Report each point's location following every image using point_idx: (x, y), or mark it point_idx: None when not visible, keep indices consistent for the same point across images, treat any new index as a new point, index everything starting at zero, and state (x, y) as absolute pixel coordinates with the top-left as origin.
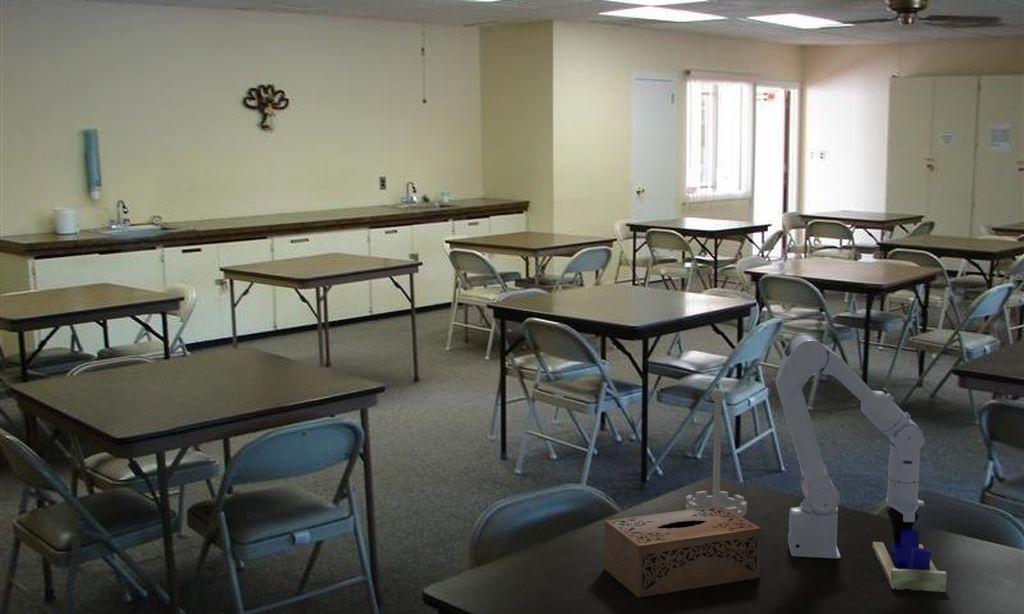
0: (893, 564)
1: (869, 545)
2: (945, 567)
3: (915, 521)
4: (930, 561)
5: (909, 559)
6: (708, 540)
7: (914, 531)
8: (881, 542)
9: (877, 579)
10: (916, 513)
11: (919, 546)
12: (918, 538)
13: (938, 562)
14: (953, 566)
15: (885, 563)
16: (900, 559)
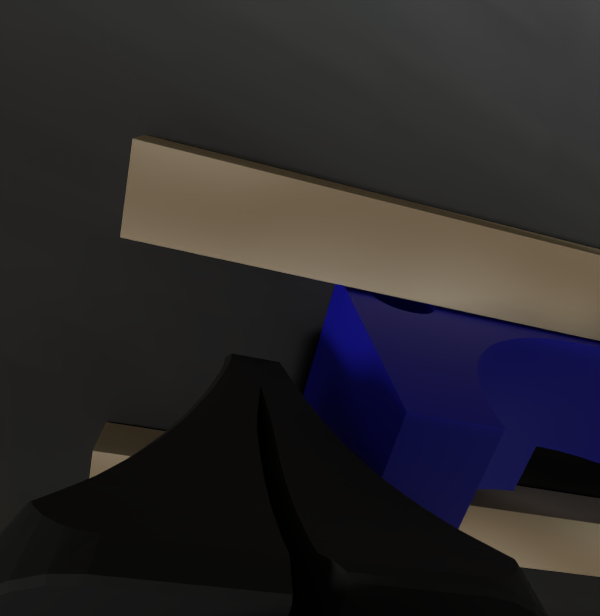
0: (528, 516)
1: (53, 484)
2: (555, 113)
3: (471, 541)
4: (552, 255)
5: (516, 417)
6: None
7: (473, 467)
8: (96, 461)
9: (591, 586)
10: (370, 591)
11: (194, 190)
12: (478, 384)
13: (444, 118)
14: (556, 23)
15: (498, 550)
16: (497, 471)
